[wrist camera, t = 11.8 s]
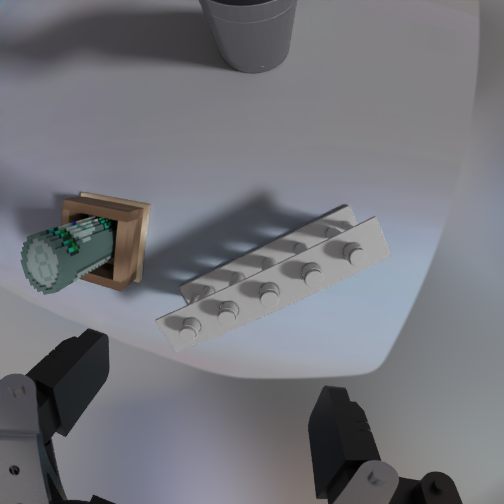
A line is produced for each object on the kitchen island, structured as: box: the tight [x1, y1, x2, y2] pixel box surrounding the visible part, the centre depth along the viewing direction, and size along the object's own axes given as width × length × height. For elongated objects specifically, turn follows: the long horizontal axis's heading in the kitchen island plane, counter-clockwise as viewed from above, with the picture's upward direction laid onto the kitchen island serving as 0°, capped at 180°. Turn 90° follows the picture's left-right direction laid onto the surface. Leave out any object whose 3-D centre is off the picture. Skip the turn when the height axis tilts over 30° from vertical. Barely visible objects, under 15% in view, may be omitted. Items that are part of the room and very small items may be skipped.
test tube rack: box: [155, 205, 391, 352], centre depth 34 cm, size 25×4×13 cm, turn 117°
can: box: [21, 216, 118, 295], centre depth 32 cm, size 6×6×15 cm
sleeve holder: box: [61, 192, 151, 291], centre depth 37 cm, size 11×11×6 cm
